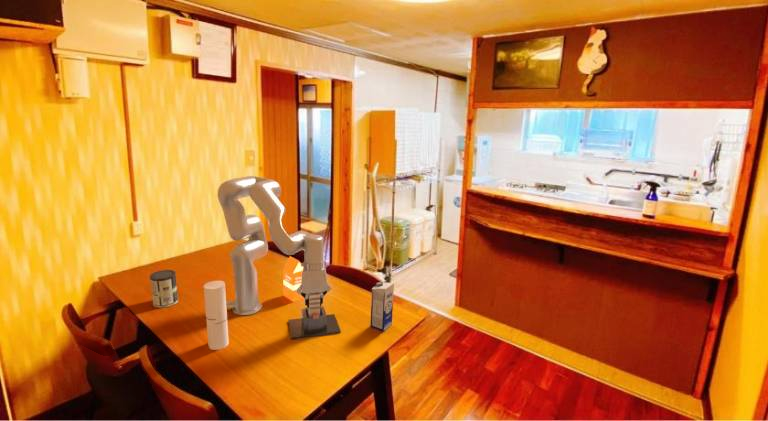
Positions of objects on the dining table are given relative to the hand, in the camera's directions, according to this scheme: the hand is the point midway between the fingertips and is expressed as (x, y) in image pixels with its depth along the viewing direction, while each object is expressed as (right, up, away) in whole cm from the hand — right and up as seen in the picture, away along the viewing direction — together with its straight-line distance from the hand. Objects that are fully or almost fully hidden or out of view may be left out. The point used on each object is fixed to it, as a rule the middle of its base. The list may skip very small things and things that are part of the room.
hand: (314, 305), depth 158 cm
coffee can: (-72, -3, +18) cm, 74 cm away
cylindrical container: (-35, -12, -12) cm, 39 cm away
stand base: (0, -10, +2) cm, 10 cm away
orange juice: (-15, -3, +29) cm, 32 cm away
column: (0, -8, +2) cm, 8 cm away
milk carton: (+28, -11, +6) cm, 30 cm away
